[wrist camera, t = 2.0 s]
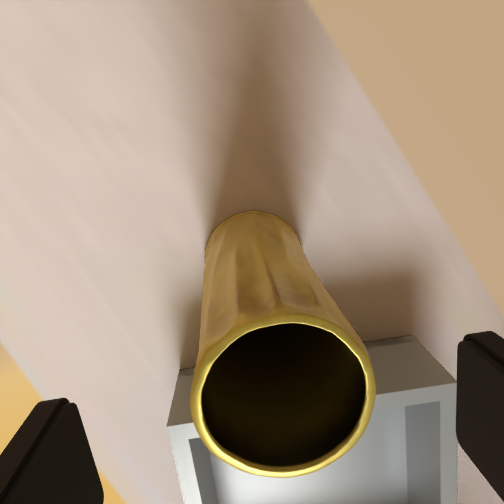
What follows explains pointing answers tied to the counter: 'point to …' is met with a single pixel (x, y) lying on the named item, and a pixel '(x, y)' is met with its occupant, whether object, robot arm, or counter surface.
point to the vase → (275, 356)
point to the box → (356, 459)
